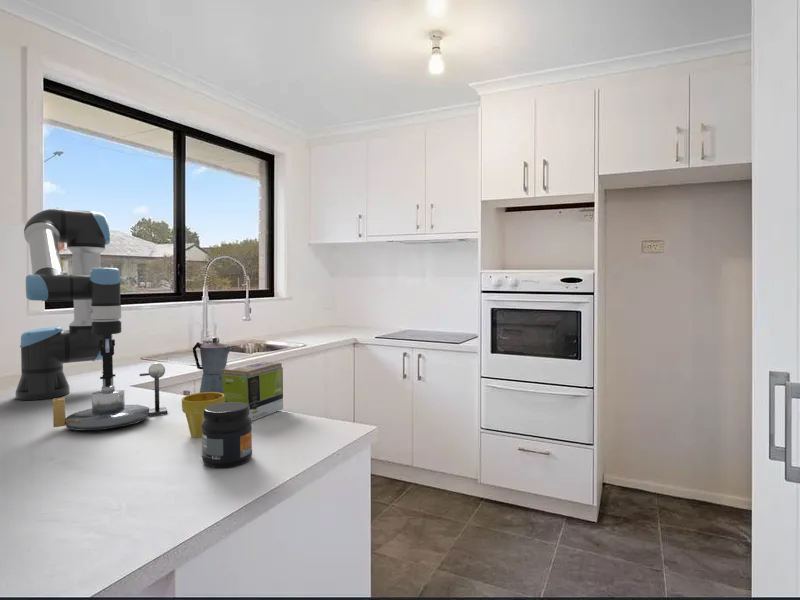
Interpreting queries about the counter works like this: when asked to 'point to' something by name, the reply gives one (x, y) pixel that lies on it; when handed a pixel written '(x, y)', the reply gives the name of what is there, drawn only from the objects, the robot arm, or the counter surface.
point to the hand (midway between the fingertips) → (108, 399)
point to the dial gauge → (156, 387)
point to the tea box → (255, 387)
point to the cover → (108, 400)
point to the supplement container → (226, 434)
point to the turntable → (97, 417)
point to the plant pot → (199, 409)
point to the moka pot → (212, 365)
